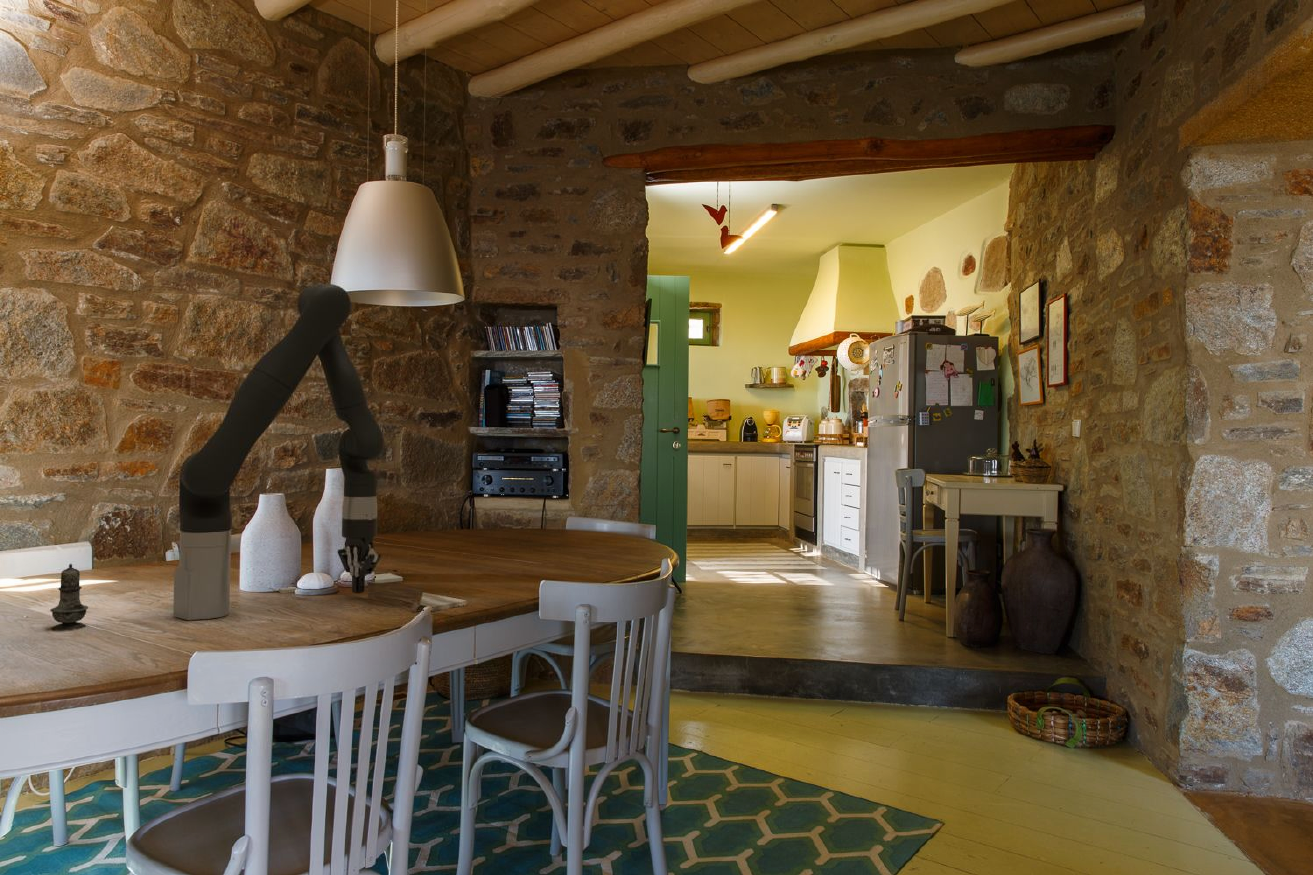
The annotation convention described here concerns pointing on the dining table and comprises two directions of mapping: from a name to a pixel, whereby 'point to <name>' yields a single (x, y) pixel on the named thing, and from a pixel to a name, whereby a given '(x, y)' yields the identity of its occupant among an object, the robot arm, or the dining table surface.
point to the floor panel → (439, 602)
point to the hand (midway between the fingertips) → (358, 592)
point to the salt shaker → (69, 602)
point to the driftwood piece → (394, 596)
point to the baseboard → (379, 579)
